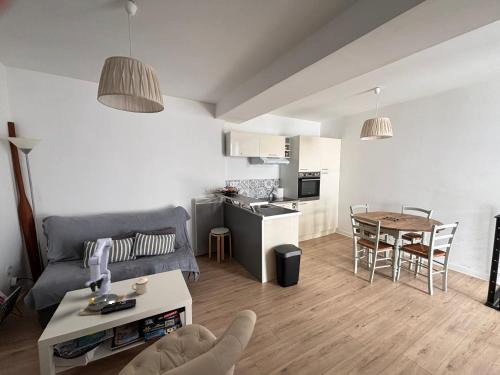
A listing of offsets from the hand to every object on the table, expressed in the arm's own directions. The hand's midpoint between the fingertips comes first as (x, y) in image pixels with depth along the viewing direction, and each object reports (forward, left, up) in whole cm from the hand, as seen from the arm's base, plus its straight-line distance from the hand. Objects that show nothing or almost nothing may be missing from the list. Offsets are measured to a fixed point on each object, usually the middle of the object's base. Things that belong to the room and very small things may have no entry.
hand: (96, 290), depth 154 cm
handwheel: (+3, +6, -9) cm, 11 cm away
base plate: (+3, +6, -10) cm, 13 cm away
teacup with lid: (-12, +26, -11) cm, 31 cm away
